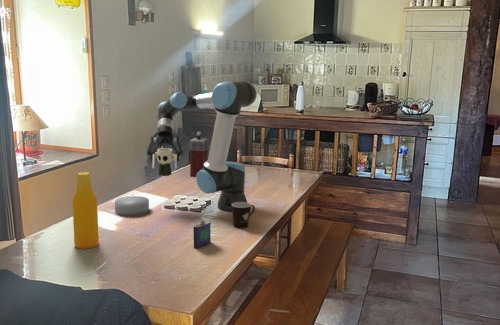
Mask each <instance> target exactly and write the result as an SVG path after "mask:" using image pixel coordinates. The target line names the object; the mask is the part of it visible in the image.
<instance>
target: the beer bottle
mask: <svg viewBox="0 0 500 325" xmlns="http://www.w3.org/2000/svg"><path fill="white" fill-rule="evenodd" d="M90 176H91V175H90V173H89V172H86V171H82V172H78V173H77V178H76V180H77V181H76V190H75V192H74V194H73V197H72V201H71V203H72V204H71V206H72V221H73V223H72V224H73V242H74V243H73V244H74V246H75V248H77V249H81V250H83V249H86V250H88V249H92V248H94V247H97V246H98V245H99V242H100V236H99V218H98V217H99V214H98V200H97V196H96V194H95V191H94V190H93V188H92V183H91V177H90Z"/></svg>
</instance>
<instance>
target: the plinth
mask: <svg viewBox="0 0 500 325" xmlns="http://www.w3.org/2000/svg"><path fill="white" fill-rule="evenodd" d="M149 211H150V200H149V198H147V197H145V196H137V195H132V196H123V197H120V198H116V199H115V200H114V213H115V214H117V215H119V216H123V217H135V216H141V215H144V214H145V215H146V214H147V213H149Z"/></svg>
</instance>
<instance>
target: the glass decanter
mask: <svg viewBox="0 0 500 325" xmlns="http://www.w3.org/2000/svg"><path fill="white" fill-rule="evenodd" d="M195 136H196V137H194V138H191V140H190V141H189V143H190V144H189V145H190V147H189V150H188V165H189V168H190V169H189V177H191V178H196V175H197V173H198V172H199V171H200V170H203V166H204V162H206V161H208V157H209V151H208V150H209V149H208V146H209V145H208V144H209V141H208V138H203V137H202V132H201V131H196V135H195Z"/></svg>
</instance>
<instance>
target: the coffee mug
mask: <svg viewBox="0 0 500 325" xmlns="http://www.w3.org/2000/svg"><path fill="white" fill-rule="evenodd" d="M251 207H253V209H252V211H251ZM255 209H256V208H255V205H254V204H251V203H249V202H247V203H246V202H235V203H232V211H231V214H232V221H233V222H232V223H233V225H232V226H233V227H234V228H236V229H246V228H248V226H249V220H250V217H251V216H252V215H253V213H255Z"/></svg>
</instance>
